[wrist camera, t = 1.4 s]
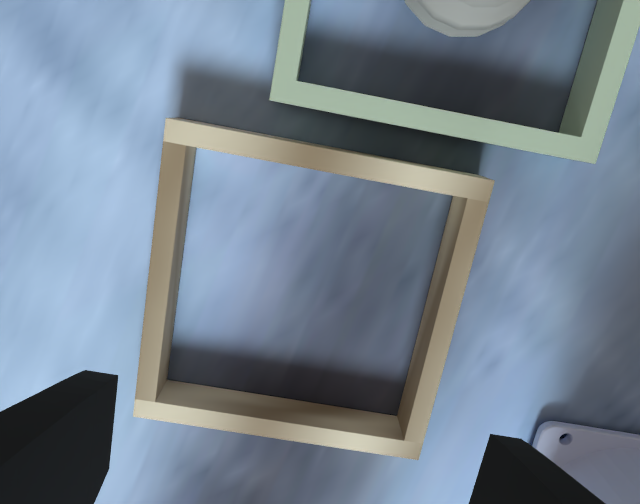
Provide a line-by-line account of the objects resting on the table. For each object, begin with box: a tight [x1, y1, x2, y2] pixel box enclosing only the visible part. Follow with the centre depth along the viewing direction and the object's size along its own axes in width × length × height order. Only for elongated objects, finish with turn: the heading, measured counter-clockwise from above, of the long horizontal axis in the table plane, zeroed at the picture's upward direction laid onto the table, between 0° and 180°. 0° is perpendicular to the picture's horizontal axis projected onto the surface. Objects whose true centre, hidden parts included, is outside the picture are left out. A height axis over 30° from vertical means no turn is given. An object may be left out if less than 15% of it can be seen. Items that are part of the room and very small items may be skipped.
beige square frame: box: [133, 118, 494, 460], centre depth 18 cm, size 10×10×2 cm
